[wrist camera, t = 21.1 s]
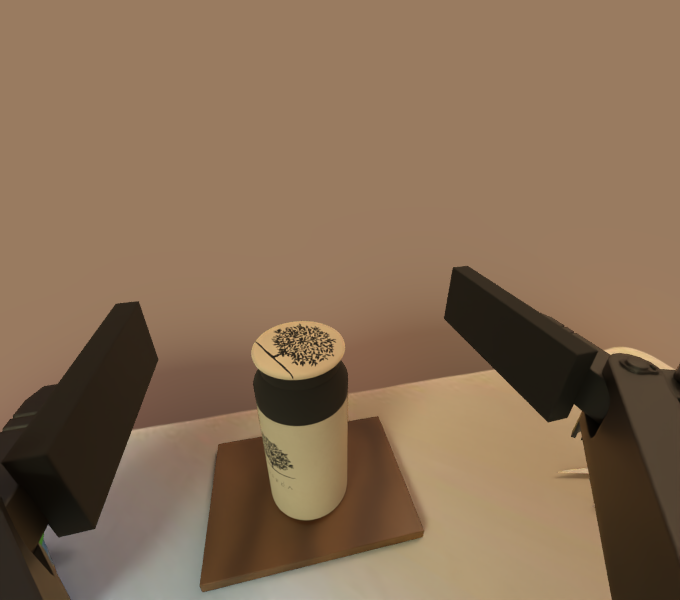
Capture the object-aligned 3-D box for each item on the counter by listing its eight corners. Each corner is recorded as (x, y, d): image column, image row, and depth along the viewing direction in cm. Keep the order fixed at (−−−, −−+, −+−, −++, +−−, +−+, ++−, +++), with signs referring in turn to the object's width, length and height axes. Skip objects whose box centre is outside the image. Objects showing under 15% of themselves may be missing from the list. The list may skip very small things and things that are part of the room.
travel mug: (323, 438, 40) (317, 310, 31) (361, 493, 34) (367, 353, 25) (260, 471, 36) (234, 336, 28) (291, 540, 30) (270, 394, 22)
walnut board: (202, 592, 28) (199, 586, 27) (220, 450, 40) (218, 444, 39) (422, 537, 31) (424, 530, 31) (377, 422, 43) (378, 415, 43)
